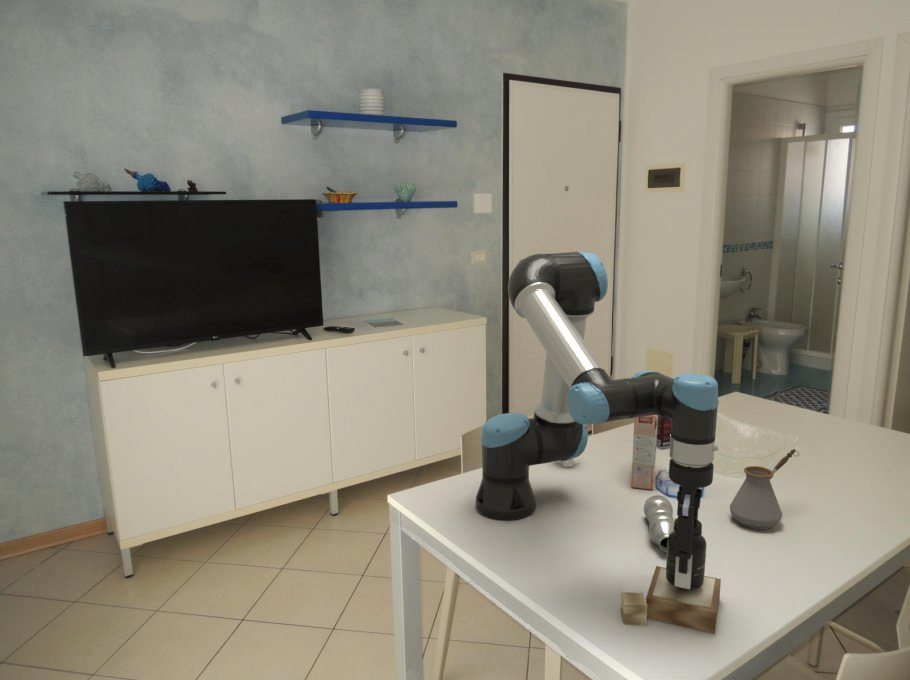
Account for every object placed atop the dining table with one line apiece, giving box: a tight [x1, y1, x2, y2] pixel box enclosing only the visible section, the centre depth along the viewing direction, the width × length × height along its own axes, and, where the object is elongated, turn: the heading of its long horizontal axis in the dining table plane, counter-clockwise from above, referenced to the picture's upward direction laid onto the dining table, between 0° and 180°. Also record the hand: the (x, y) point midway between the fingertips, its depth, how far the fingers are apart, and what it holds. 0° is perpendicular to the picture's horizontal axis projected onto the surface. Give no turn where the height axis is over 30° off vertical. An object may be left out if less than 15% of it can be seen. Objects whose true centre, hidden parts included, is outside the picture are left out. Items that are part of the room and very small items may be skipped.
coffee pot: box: [729, 448, 801, 530], centre depth 160 cm, size 21×12×15 cm, turn 124°
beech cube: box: [620, 591, 648, 626], centre depth 122 cm, size 4×4×4 cm
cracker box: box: [630, 415, 658, 491], centre depth 182 cm, size 14×6×21 cm, turn 161°
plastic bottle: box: [643, 494, 675, 553], centre depth 152 cm, size 6×7×20 cm
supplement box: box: [656, 416, 671, 450], centre depth 208 cm, size 9×5×16 cm, turn 114°
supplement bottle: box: [665, 517, 707, 590], centre depth 123 cm, size 7×7×12 cm
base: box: [645, 565, 722, 634], centre depth 125 cm, size 12×12×4 cm
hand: (684, 576), depth 124 cm, fingers closed on supplement bottle, 7 cm apart
